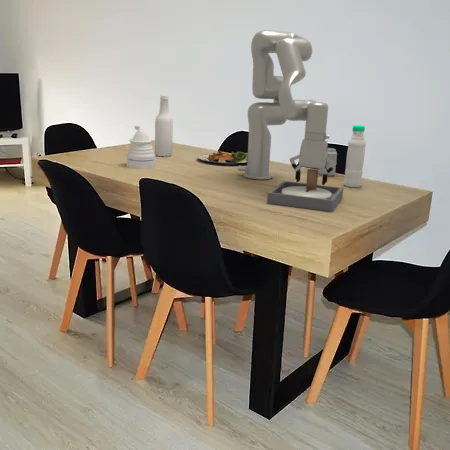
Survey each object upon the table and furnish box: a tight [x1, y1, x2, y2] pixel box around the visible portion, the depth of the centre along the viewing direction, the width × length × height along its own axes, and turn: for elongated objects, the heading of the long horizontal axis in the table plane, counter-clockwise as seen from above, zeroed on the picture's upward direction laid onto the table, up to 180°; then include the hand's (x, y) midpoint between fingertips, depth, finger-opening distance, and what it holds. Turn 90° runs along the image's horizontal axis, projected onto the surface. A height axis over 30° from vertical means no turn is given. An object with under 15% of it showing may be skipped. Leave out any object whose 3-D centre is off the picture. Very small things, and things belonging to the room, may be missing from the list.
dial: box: [282, 168, 332, 200], centre depth 200 cm, size 18×18×8 cm
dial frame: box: [266, 180, 344, 212], centre depth 201 cm, size 23×23×6 cm
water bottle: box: [343, 124, 367, 189], centre depth 225 cm, size 7×7×25 cm
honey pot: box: [126, 125, 156, 170], centre depth 249 cm, size 13×13×18 cm
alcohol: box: [154, 94, 174, 157], centre depth 276 cm, size 9×9×30 cm
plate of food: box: [197, 150, 248, 166], centre depth 272 cm, size 28×28×6 cm
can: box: [318, 147, 338, 177], centre depth 248 cm, size 8×8×12 cm
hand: (310, 182), depth 206 cm, fingers open, 9 cm apart
